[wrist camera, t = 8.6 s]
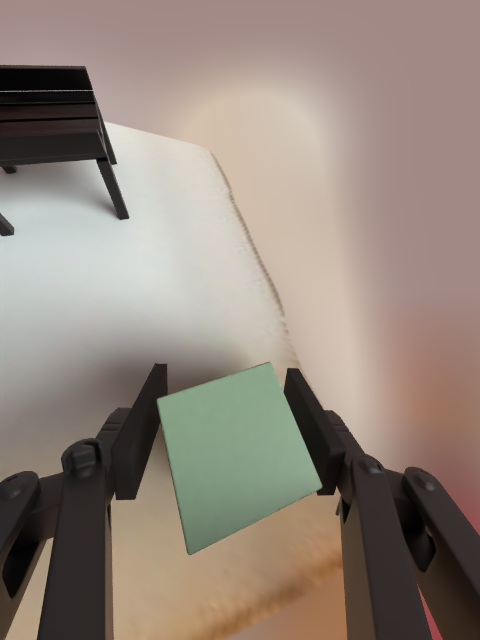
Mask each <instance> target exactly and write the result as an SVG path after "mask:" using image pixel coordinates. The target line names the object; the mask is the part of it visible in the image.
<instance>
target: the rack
mask: <svg viewBox="0 0 480 640" xmlns="http://www.w3.org/2000/svg"><path fill="white" fill-rule="evenodd" d="M36 90H37V91H36ZM44 90H45V91H44ZM48 90H92V85H91V82H90V79H89V76H88V73H87V70H86V67H85V66H31V65H30V66H29V65H0V91H32V92H0V167H2V168H3V169H4V171H5V172H6V173H16V166H15V165H28V164H41V163H54V162H67V161H80V160H93V159H96V161H97V164H98V167H99V169H100V172H101V174H102V177H103V179H104V182H105V184H106V187H107V189H108V192H109V194H110V196H111V199H112V201H113V204H114V206H115V209H116V211H117V214H118V216H119V219H120V220H122V219H129V215H128V211H127V208H126V205H125V203H124V200H123V197H122V194H121V191H120V189H119V186H118V183H117V180H116V177H115V175H114V172H113V169H112V166H111V165H112V164H117V162H116V158H115V155H114V152H113V149H112V146H111V143H110V140H109V137H108V134H107V131H106V128H105V125H104V122H103V119H102V116H101V113H100V110H99V107H98V104H97V101H96V98H95V96H94V92H93V91H48ZM0 234H1V235H2V236H8V235H14V227H13V226H12V225H11V224H10V223H9V222H8V221H7V220H6V219H5V218H4V217H3V216H2V214H1V213H0Z"/></svg>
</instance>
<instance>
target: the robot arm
mask: <svg viewBox="0 0 480 640" xmlns="http://www.w3.org/2000/svg"><path fill="white" fill-rule="evenodd" d="M166 395H168V385H167V364H157V363H155V365H154V367H153V368H152V370H151V372H150V374H149V376H148V378H147V380H146V382H145V384H144V386H143V388H142V390H141V391H140V393H139V395H138V397H137V399H136V401H135V403H134V405H133V407H132V408H118V409H116V410H115V411H114V412H113V413H111V414H110V415H109V417H108V419H107V420H106V422H105V424H104V425H103V427H102V428H101V431H99V433H98V435H97V436H96V438H95V439H94V438H89V439H83V440H81V441H78V442H76V443H74V444H73V445H71V446H69V447H68V448H67V449H66V450H65V451H64V453H63V455H62V457H61V462H62V467H63V472H62V473H59V474H55V475H52V476H48V477H44V478H41V479H39V478H38V475H37V474H36V473H34V472H33V471H24V472H20V473H17V474H14V475H12V476H10V477H8V478H6V479H5V480H3V481H2V482H0V640H5V638H6V635H7V633H8V631H9V628H10V626H11V623H12V621H13V619H14V616H15V614H16V612H17V609H18V607H19V605H20V602H21V600H22V598H23V595H24V593H25V590H26V588H27V586H28V583H29V581H30V579H31V576H32V574H33V572H34V569H35V567H36V565H37V562H38V560H39V557H40V555H41V553H42V550H43V548H44V546H45V543H46V541H47V539H50V538H52V537H54V540H53V546H52V552H51V558H50V564H49V570H48V576H47V582H46V588H45V594H44V600H43V606H42V612H41V618H40V624H39V630H38V636H37V640H114V635H113V585H112V536H111V505H110V502H111V500H112V497H113V495H114V492H115V495H116V500H135V498H136V495H137V492H138V489H139V486H140V483H141V480H142V477H143V474H144V471H145V467H146V464H147V461H148V458H149V455H150V452H151V449H152V446H153V443H154V440H155V437H156V434H157V431H158V428H159V425H160V416H159V411H158V406H157V399H158V398H160V397H163V396H166ZM284 395H285V397H286V400H287V402H288V404H289V407H290V409H291V412H292V414H293V416H294V419H295V421H296V424H297V426H298V428H299V431H300V433H301V436H302V438H303V440H304V443H305V445H306V448H307V450H308V452H309V455H310V457H311V460H312V462H313V464H314V467H315V469H316V472H317V474H318V476H319V479H320V481H321V484H322V488H321V489H320V490H318V491H316V492H317V495H318V496H319V495H334V493H335V489H336V486H337V488H338V490H339V492H340V494H341V497H340V500H339V503H338V506H337V510H336V515H337V516H338V515H339V512H340V524H341V540H342V557H343V573H344V589H345V606H346V623H347V638H348V640H432V636H431V632H430V629H429V625H428V622H427V618H426V615H425V611H424V607H423V604H422V600H421V597H420V593H419V589H418V586H419V588H420V590H421V592H422V595H423V597H424V599H425V601H426V603H427V606H428V608H429V610H430V612H431V614H432V617H433V619H434V621H435V623H436V625H437V628H438V630H439V632H440V634H441V636H442V638H443V640H480V536H479V535H478V533H477V532H476V530H475V529H474V528H473V526H472V525H471V524H470V522H469V521H468V520H467V518H466V517H465V516H464V514H463V513H462V512H461V510H460V509H459V508H458V506H457V505H456V504H455V502H454V501H453V500H452V499H451V497H450V496H449V494H448V493H447V492H446V490H445V489H444V487H443V486H442V485H441V483H440V482H439V481H438V480H437V479H436V478H435V477H434V476H432V475H431V474H430V473H428V472H426V471H424V470H423V469H420V468H417V467H408V468H406V469H405V472H404V474H402V473H398V472H394V471H391V470H388V469H385V468H384V467H383V466H382V464H381V463H380V462H379V461H378V460H376V459H375V458H373V457H372V456H370V455H367V454H365V453H364V451H363V450H362V448H361V447H360V446H359V444H358V443H357V441H356V440H355V438H354V437H353V435H352V434H351V432H349V429H348V428H347V426H345V423H344V422H343V420H342V419H341V417H340V416H338V415H337V414H336V413H335V412H334V411H332V410H329V411H328V410H323V408H322V406H321V405H320V403H319V402H318V400H317V398H316V397H315V395H314V393H313V392H312V390H311V388H310V387H309V385H308V384H307V382H306V380H305V379H304V377H303V375H302V374H301V372H300V370H299V369H298V368H287V374H286V380H285V386H284ZM417 584H418V586H417Z"/></svg>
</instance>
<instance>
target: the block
mask: <svg viewBox="0 0 480 640" xmlns="http://www.w3.org/2000/svg"><path fill="white" fill-rule="evenodd" d="M157 406H158V411H159V416H160V421H161V425H162V430H163V435H164V440H165V445H166V450H167V455H168V460H169V465H170V470H171V475H172V480H173V485H174V489H175V494H176V499H177V504H178V509H179V514H180V519H181V524H182V529H183V534H184V539H185V544H186V549H187V553H188V555H192V554H194V553H196V552H198V551H200V550H202V549H204V548H206V547H208V546H210V545H212V544H214V543H216V542H217V541H219V540H221V539H223V538H225V537H227V536H229V535H231V534H233V533H235V532H237V531H239V530H241V529H243V528H245V527H247V526H249V525H251V524H253V523H255V522H257V521H259V520H261V519H263V518H265V517H267V516H268V515H270V514H272V513H274V512H276V511H278V510H280V509H282V508H284V507H286V506H288V505H290V504H292V503H294V502H296V501H298V500H300V499H302V498H304V497H306V496H308V495H310V494H312V493H314V492H316V491H318V490H320V489H321V488H322V484H321V481H320V479H319V476H318V474H317V472H316V469H315V467H314V464H313V462H312V460H311V457H310V455H309V452H308V450H307V448H306V445H305V443H304V440H303V438H302V436H301V433H300V431H299V428H298V426H297V424H296V421H295V419H294V416H293V414H292V412H291V409H290V407H289V404H288V402H287V400H286V397H285V395H284V392H283V390H282V388H281V385H280V383H279V380H278V378H277V376H276V373H275V371H274V368H273V366H272V364H271V362H266V363H263V364H260V365H257V366H254V367H251V368H248V369H245V370H242V371H239V372H236V373H233V374H230V375H227V376H224V377H221V378H218V379H215V380H212V381H209V382H206V383H203V384H200V385H197V386H194V387H190V388H187V389H184V390H181V391H178V392H175V393H172V394H169V395H166V396H163V397H160V398H158V399H157Z"/></svg>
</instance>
